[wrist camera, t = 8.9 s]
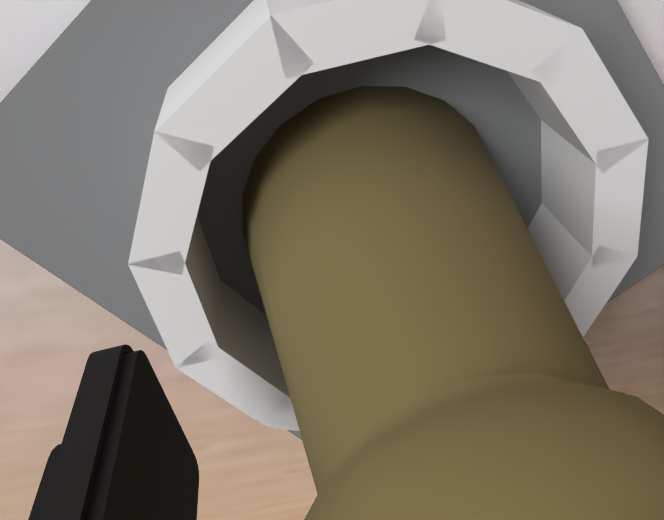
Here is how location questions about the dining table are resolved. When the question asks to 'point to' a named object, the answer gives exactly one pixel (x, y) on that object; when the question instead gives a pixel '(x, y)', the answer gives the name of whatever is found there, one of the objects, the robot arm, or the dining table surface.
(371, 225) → the cork
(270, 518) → the dining table surface
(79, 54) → the mat
